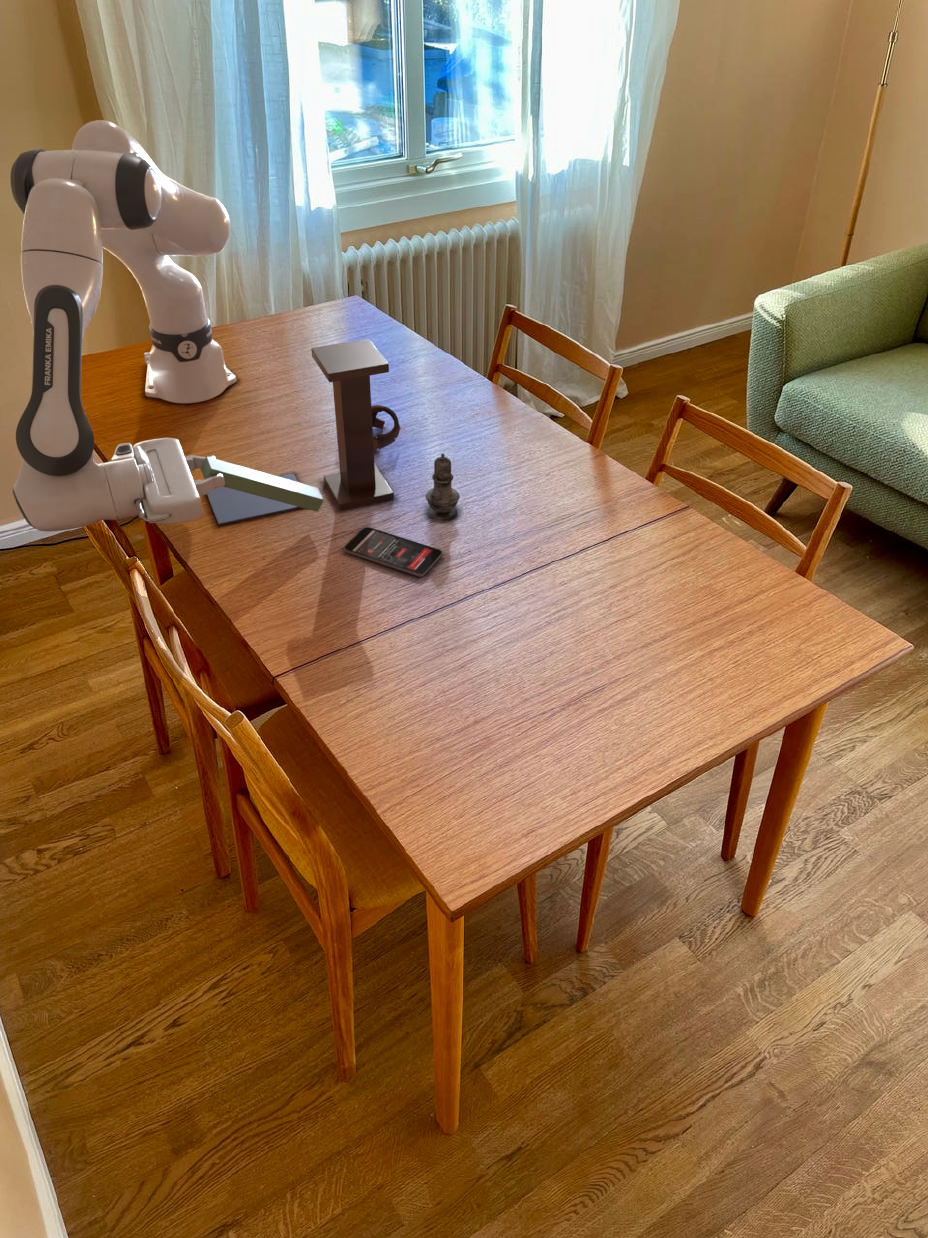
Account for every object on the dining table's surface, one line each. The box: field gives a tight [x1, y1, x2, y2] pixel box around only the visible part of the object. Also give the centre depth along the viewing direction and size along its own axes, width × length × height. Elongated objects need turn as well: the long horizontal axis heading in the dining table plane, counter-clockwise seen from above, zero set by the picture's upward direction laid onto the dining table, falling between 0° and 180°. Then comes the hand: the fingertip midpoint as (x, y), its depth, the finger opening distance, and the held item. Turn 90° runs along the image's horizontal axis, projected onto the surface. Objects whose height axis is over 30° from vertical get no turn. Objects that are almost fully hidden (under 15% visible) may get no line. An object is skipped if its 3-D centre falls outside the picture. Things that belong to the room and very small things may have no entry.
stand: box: [310, 338, 395, 512], centre depth 161 cm, size 10×10×26 cm
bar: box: [200, 455, 325, 513], centre depth 154 cm, size 4×20×2 cm, turn 113°
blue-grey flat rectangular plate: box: [206, 472, 303, 526], centre depth 167 cm, size 11×16×1 cm
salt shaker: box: [425, 452, 461, 523], centre depth 161 cm, size 6×6×12 cm
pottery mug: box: [371, 404, 402, 453], centre depth 181 cm, size 12×10×8 cm
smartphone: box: [343, 526, 443, 578], centre depth 156 cm, size 7×1×15 cm
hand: (220, 470), depth 150 cm, fingers closed on bar, 4 cm apart
